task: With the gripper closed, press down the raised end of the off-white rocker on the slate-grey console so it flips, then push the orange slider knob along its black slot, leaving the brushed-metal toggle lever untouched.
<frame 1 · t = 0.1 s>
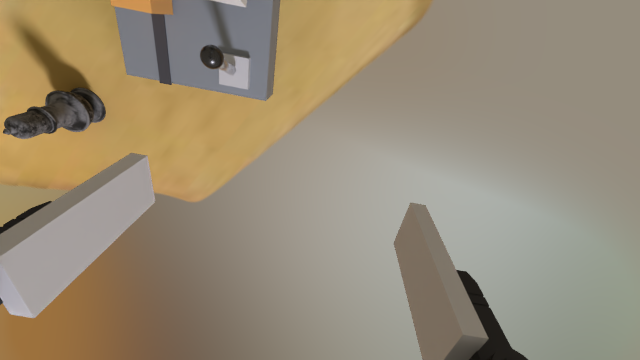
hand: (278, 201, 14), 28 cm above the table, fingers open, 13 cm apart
chess piece: (88, 105, 41), on the table
toggle: (217, 60, 28), point 10 cm above the table, hinge at -20.0°
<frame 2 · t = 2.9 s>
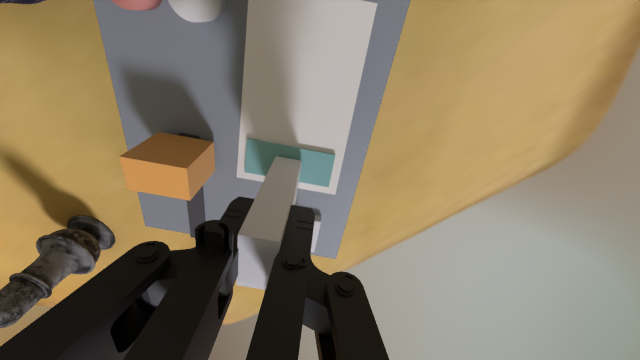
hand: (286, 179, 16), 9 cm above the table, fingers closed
chess piece: (93, 231, 32), on the table
slider: (173, 164, 18), point 6 cm above the table, slide at 0.0 cm
rocker: (300, 99, 15), point 7 cm above the table, hinge at -9.6°, touching gripper
panel: (258, 116, 23), on the table
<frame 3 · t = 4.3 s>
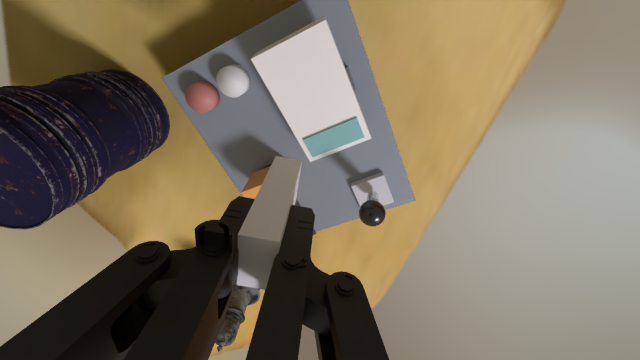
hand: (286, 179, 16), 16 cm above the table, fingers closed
chess piece: (247, 273, 44), on the table
toggle: (372, 208, 24), point 10 cm above the table, hinge at -20.0°
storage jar: (129, 113, 32), on the table
slider: (270, 185, 27), point 6 cm above the table, slide at 0.0 cm
rocker: (316, 98, 22), point 7 cm above the table, hinge at 9.3°
panel: (304, 131, 31), on the table
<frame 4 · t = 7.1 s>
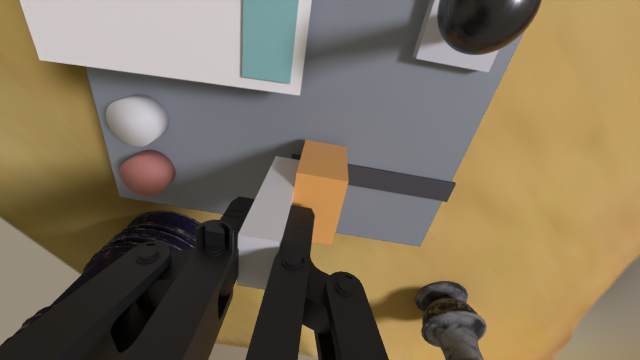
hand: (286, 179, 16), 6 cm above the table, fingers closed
chess piece: (440, 296, 29), on the table
toggle: (480, 11, 8), point 10 cm above the table, hinge at -20.0°
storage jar: (177, 247, 27), on the table
slider: (318, 190, 15), point 7 cm above the table, slide at 0.7 cm, touching gripper
panel: (294, 84, 18), on the table
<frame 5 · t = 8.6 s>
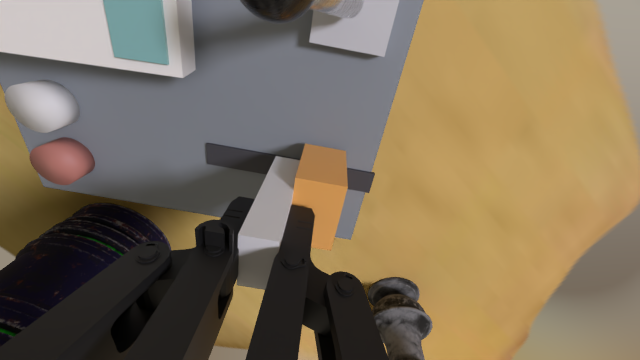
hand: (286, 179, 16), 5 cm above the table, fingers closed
chess piece: (392, 292, 29), on the table
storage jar: (124, 241, 27), on the table
slider: (317, 194, 15), point 7 cm above the table, slide at 5.9 cm, touching gripper
panel: (218, 72, 18), on the table
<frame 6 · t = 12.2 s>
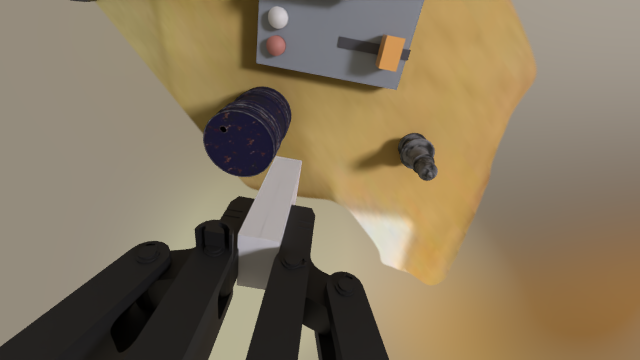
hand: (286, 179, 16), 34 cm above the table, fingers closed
chess piece: (412, 146, 51), on the table
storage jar: (265, 113, 49), on the table
slider: (389, 52, 37), point 7 cm above the table, slide at 5.9 cm
panel: (338, 9, 40), on the table
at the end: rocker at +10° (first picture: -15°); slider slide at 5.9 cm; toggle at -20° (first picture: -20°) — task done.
